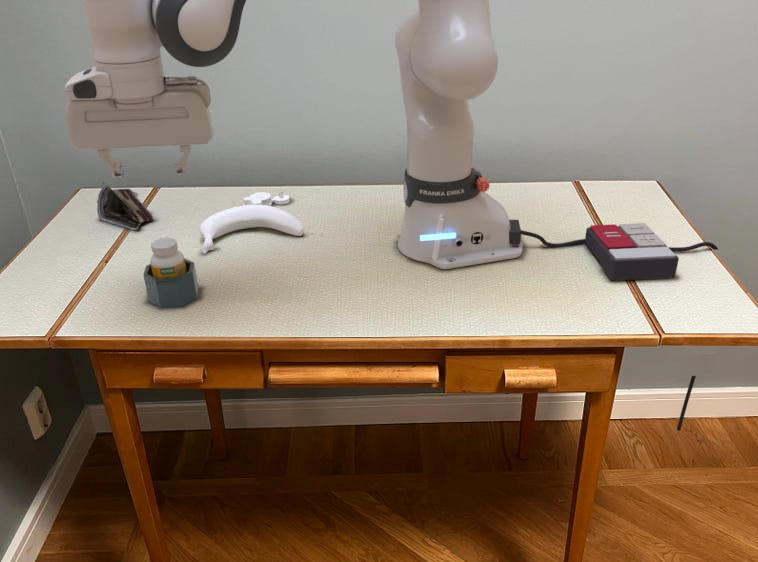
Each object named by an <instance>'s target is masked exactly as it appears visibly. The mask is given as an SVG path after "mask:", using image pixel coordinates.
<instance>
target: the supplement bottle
mask: <svg viewBox="0 0 758 562" xmlns="http://www.w3.org/2000/svg"><path fill="white" fill-rule="evenodd" d="M150 248H151V252H152V255H151V256H150V259H149V262H150V263H149V264H151V268H152V272H153V277H154V278H156V279H167V278H176V277H178V276H180V275H183V274H185V273H187V270H186V264H185V259H186V258H185V256H184V254H183V252H182V251H181V250H179V246H178V242H177V240H176V239H175V238H173V237H161V238H157V239H155V240H153V241H152V242H151V244H150ZM184 258H185V259H184Z"/></svg>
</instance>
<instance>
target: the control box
mask: <svg viewBox="0 0 758 562" xmlns="http://www.w3.org/2000/svg"><path fill="white" fill-rule="evenodd" d="M585 229H586V230H585V237H584V239H585V240H586V242H585V243H584V244H585V245H586V247H587V248H588V249H589V251H590V252H591V253H592V254H593V255H594V257H595V258H596V259H597V261H598V262H599V263H600V264H601V266H602V269H603V272H604V274H605V275H606V276H607V277H608V279H609V280H610V281H630V280H631V281H632V280H633V281H634V280H651V279H653V280H654V279H672V278H673V279H674V278H676V274H677V269H678V264H679V259H680V257H679V256H678V255H676V253H675V252H672V251H671V250H670V249H669V248H668V247H669V246H668V245H667V244H666V243H665V242H664V241H663V240H662V239H661V238H660V236H659V235H657V234H656V233H655V232H654V231H653V229H651V228H650V227H649V226H648V225H647V224H646V223H644V222H637V223H619V224H618V225H617V224H614V223H613V224H593V225H590V226H589V227H586V228H585Z"/></svg>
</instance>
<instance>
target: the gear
mask: <svg viewBox="0 0 758 562" xmlns="http://www.w3.org/2000/svg"><path fill="white" fill-rule="evenodd" d="M242 201H243V203H242V206H244V205H267V206H273V203H274V204H276V205H287V204H290V201H291V200H290V196H289V195H287V194H284V192H283V191H278V195H275V196H274V197H273V198H272V195H271V194H270V193H269V192H264V191H263V192H262V191H260V192H259V191H258V192H254V193H252V194H251V195H249V196H245V197H243V198H242ZM233 203H234V204H235V202H233Z"/></svg>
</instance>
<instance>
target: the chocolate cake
mask: <svg viewBox="0 0 758 562" xmlns="http://www.w3.org/2000/svg"><path fill="white" fill-rule="evenodd" d="M138 197H139V193H138V192H136V191H135V192H134V191H133V190H132V189H131V188H116V189H112V188H111V187H110V186H109V185H108V184H107V183H106V182H104V181H102V184H101V190H100V191H99V193H98V198H97V201H96V204H97V207H96V208H97V209H96V211H97V216H98V218H99V220H101V221H103V222H104V223H106V222H107V223H108V224H113V225H115V226H119V227H122V228H125V229H128V230H131V231H136V230H138V229H139V227H140V226H141V224H142V223H146V222H151V221H154V215H153V214H152V213H151V211H150V210H149V209H148V207H149V205H148V204H147V203H145V202H141V200H140V199H139V198H138Z"/></svg>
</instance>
